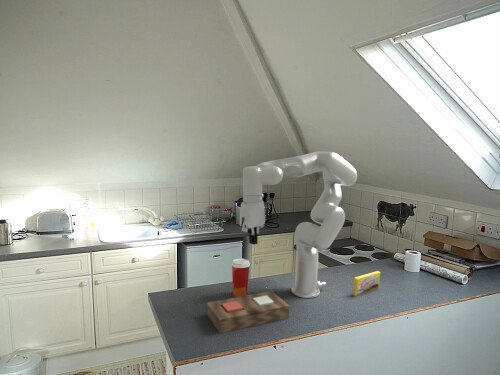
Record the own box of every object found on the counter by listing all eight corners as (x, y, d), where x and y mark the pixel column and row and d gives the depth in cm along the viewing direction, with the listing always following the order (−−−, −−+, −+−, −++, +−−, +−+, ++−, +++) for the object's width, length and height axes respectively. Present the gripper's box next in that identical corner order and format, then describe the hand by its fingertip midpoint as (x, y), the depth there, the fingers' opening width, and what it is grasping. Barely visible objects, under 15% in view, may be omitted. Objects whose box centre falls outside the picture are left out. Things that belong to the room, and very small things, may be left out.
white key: (266, 302, 145) (266, 295, 145) (273, 309, 140) (273, 301, 139) (252, 305, 143) (253, 298, 142) (259, 312, 137) (259, 304, 137)
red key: (236, 308, 140) (236, 300, 139) (242, 315, 134) (243, 307, 134) (221, 311, 137) (222, 303, 137) (227, 318, 132) (227, 310, 131)
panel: (271, 302, 151) (271, 291, 150) (288, 317, 139) (289, 305, 138) (207, 315, 139) (207, 302, 138) (219, 333, 127) (220, 319, 126)
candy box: (356, 296, 159) (357, 278, 157) (352, 295, 160) (353, 277, 159) (379, 289, 168) (380, 271, 166) (375, 287, 169) (376, 270, 168)
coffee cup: (239, 288, 164) (239, 256, 162) (253, 294, 159) (254, 261, 156) (226, 294, 157) (226, 261, 155) (240, 300, 152) (241, 266, 150)
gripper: (260, 194, 149) (260, 237, 152) (231, 199, 139) (232, 245, 142) (273, 197, 143) (273, 241, 146) (244, 202, 134) (245, 250, 137)
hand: (253, 243), depth 144 cm, fingers closed
